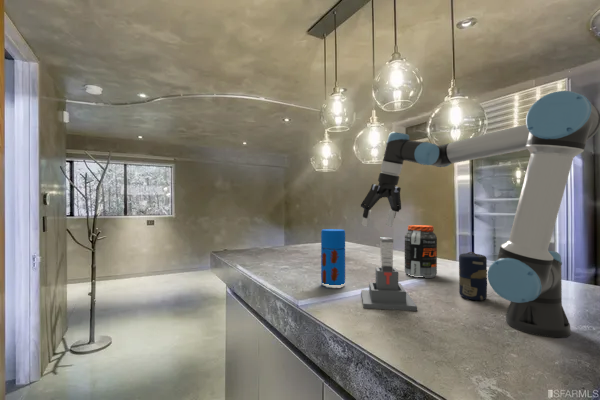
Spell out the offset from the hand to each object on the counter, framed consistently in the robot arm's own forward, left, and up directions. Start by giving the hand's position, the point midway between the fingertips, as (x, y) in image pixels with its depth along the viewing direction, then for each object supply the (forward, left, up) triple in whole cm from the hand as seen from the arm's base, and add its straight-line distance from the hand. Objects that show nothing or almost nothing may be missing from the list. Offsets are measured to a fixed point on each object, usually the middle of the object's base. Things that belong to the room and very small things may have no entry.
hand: (377, 225), depth 122 cm
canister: (+4, -37, -28) cm, 47 cm away
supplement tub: (+42, -26, -28) cm, 57 cm away
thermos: (+14, +18, -28) cm, 36 cm away
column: (-6, -3, -26) cm, 27 cm away
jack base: (-6, -3, -28) cm, 29 cm away
